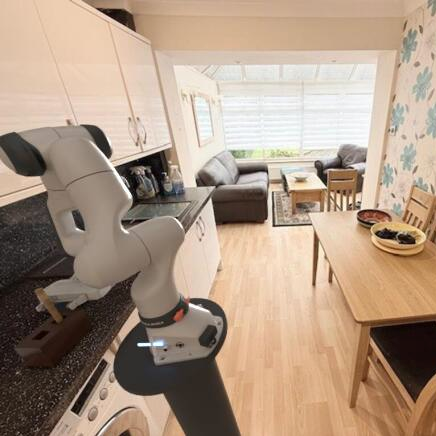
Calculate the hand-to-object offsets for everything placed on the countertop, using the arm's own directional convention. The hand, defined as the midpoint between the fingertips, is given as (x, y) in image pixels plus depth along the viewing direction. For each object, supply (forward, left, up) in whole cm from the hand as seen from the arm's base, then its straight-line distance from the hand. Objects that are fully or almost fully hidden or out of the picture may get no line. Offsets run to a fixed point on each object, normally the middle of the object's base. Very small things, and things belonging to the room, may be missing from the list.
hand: (54, 309), depth 72 cm
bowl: (+16, -16, -12) cm, 26 cm away
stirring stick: (0, 0, -12) cm, 12 cm away
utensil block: (0, +3, -12) cm, 12 cm away
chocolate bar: (+25, -36, -12) cm, 45 cm away
